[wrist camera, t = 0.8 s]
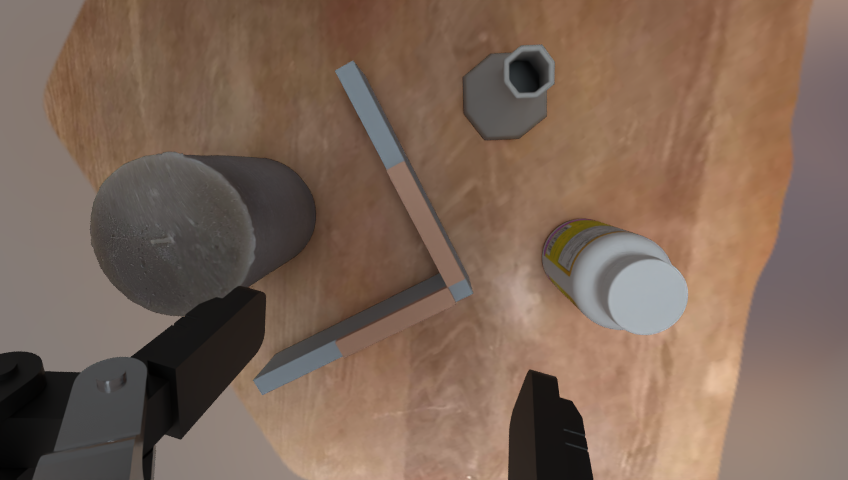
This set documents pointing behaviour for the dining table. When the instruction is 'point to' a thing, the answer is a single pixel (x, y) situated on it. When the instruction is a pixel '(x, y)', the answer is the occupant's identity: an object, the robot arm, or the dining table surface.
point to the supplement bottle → (615, 276)
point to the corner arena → (401, 306)
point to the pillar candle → (197, 226)
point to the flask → (508, 92)
